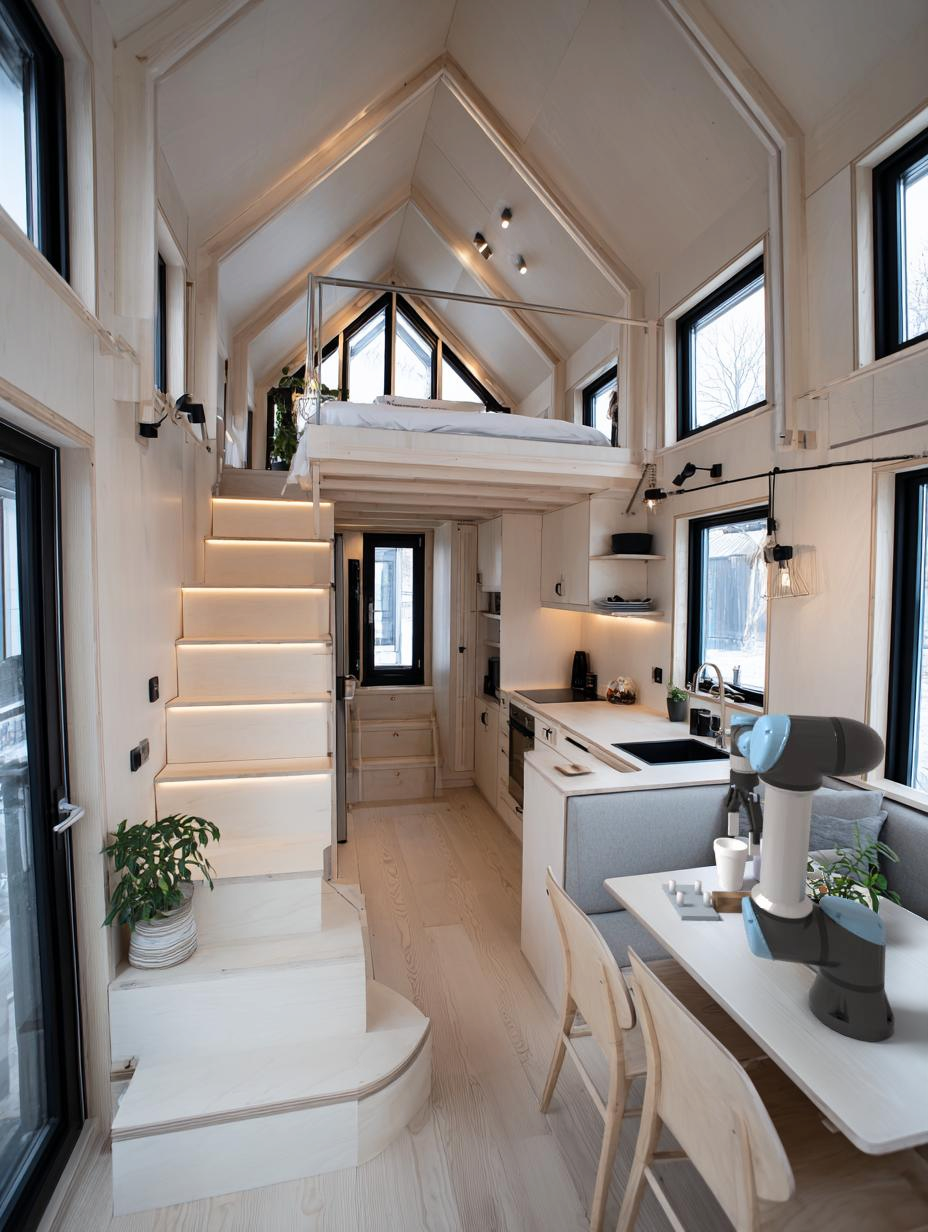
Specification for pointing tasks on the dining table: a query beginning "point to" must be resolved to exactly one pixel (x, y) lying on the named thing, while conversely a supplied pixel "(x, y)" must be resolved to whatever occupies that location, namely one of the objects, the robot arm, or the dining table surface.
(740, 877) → the foam cup
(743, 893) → the wooden toy mallet
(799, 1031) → the dining table surface
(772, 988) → the dining table surface
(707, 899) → the rack
